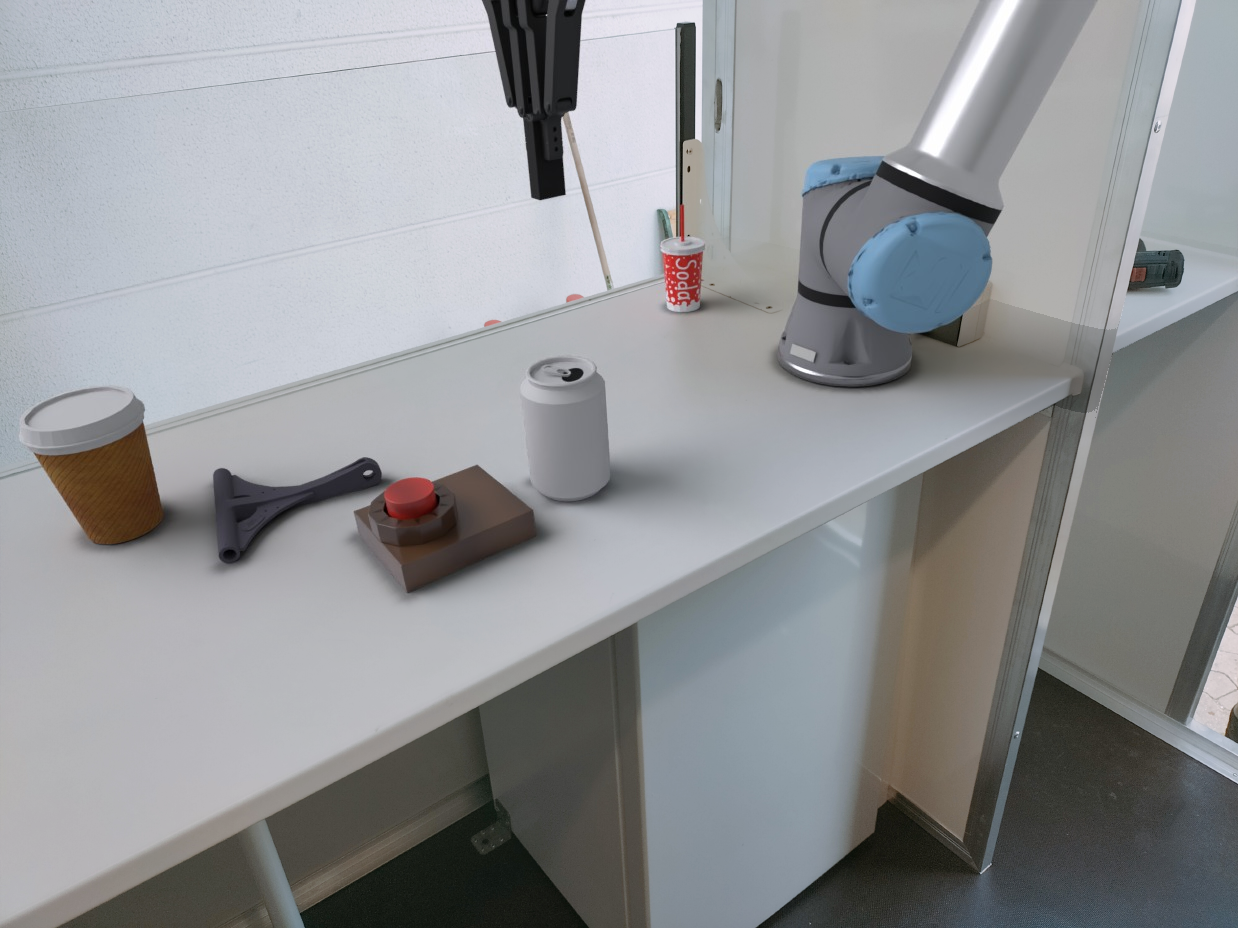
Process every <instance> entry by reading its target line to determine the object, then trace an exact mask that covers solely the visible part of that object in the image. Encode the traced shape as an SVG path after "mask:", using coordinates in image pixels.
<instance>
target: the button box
mask: <svg viewBox="0 0 1238 928" xmlns="http://www.w3.org/2000/svg"><path fill="white" fill-rule="evenodd" d="M431 482H432V483H433V485H434V490H435V495H436V500H437V507H436V508H435V509H434V510H433V511H432V512H431V513H428V514H426V515H423V516H421V517H418V518H413V519H403V520H400V519H396V518H392V517H390V515H389V514H388V510H387V506H386V501H385V497H384V493H385V490H383V491H382V492H381V493H380V494H379V495H378V496H376V497H375V498H373V500H371V502H370V504H369V505H367V506H363V507H361V508H359V509H356V510H353V515H354V520H355V523H356V528H357V531H358V535H359V537H360V539H361V541H362V542H363V543H365V545H366V546H367V548H368V549H370V551H371V552H372V553H373V554H374V555H375V557H376V558H377V559H378V560H379V561H380V563H381V564H382V565H383V567H385V569H387V571H388V572H389V573H390V574H391V576H392V577H393V578H394V579H395V580H396V581H397V583H398V584H399V585H400V586H401V588H402V589H403V590H404V591H405V592H406V593H407V594H409V593H410V592H413V591H416V590H417V589H420V588H423V587H424V586H427V585H429V584H431V583H433V582H435V581H438V580H440V579H442V578H445V577H447V576H449V575H452V574H453V573H457V572H458V571H460V570H463V569H465V568H467V567H469V566H472V565H474V564H476V563H479V562H481V561H484V560H485V559H487V558H490V557H492V556H495V555H497V554H499V553H501V552H503V551H505V550H508V549H510V548H512V547H515V546H517V545H519V544H522V543H524V542H526V541H528V540H530V539H533V538H535V537H536V536H537V529H536V522H535V513H534V509H532V508H531V507H530V506H529V505H528V504H527V503H525V502H524V501H523V500H522V499H520V498H519V497H518V496H516V495H515V494H514V493H513V492H512V491H511V490H510V489H508V488H507V487H506V486H504V485H503V484H502V483H500V481H498V480H497V479H496V478H495V477H493V476H492V475H491V474H489V472H487V471H486V470H485V469H484V468H482V467H481V466H480V465H479V464H474V465H472V466H469V467H467V468H465V469H462V470H459V471H456V472H454V473H451V474H449V475H446V476H443V477H441V478H438V479H435V480H433V481H432V480H431Z"/></svg>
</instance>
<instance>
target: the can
mask: <svg viewBox="0 0 1238 928" xmlns="http://www.w3.org/2000/svg"><path fill="white" fill-rule="evenodd" d="M597 371H598V366H597V365H596V363H595V362H594V361H592V360H590V359H589V358H586V357H583V356H579V355H566V354H565V355H553V356H549V357H545V358H541V359H538V360H537V361H535V362H533V363H531V364H530V365H529V366H528V367H527V368H526V370H525V373H524V375H525V378H524V380H522V382H521V385H520V388H519V394H520V403H521V410H522V411H521V412H522V420H523V427H524V428H523V429H524V436H525V445H526V453H527V461H528V470H529V471H528V472H529V478H530V479H529V480H530V482H531V485H532V488H534V489H535V490H536V491H537V492H538V493H540V494H542V495H544V496H545V497H546V498H549V499H551V500H554V501H558V502H577V501H578V502H579V501H583V500H585V499H588V498H591V497H593V496H594V495H596V494H598V493H599V492H600V490H602V489H603V488H604V487H605V486H606V485H607V484H608V483H609V481H610V480H611V472H612V471H611V457H610V455H611V454H610V439H609V426H608V407H607V393H606V392H607V391H606V381H605V379H604V377H603V376H602V375H601V374H600V373H599V372H597Z"/></svg>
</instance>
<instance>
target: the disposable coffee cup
mask: <svg viewBox="0 0 1238 928" xmlns="http://www.w3.org/2000/svg"><path fill="white" fill-rule="evenodd" d="M145 407H146V406H145V404H144V402H143V401H142V400H141V399H139V398H137V396H136V395H135V393H134V392H133V391H132V390H131V389H130V388H127V387H125V386H122V385H121V386H120V385H114V384H113V385H110V384H108V385H107V384H105V385H104V384H103V385H92V386H87V387H81V388H77V389H73V390H68V391H65V392H62V393H59V394H55V395H53V396H50V397H48V398H45V399H43V400H41V401H39V402H37V403H36V404H34V405H31V406H30V407H29V408H28V409H26V410H25V411H24V412H23V413H22V414H21V415H20V417H19V420H18V422H19V433H18V440H19V443H21V444H22V445H23V447H26V449H28V450H29V451H30V452H31V453H33V455H34V456H35V458H36V460H37V461H38V463H39V465H40V466H41V467H42V469H43V471H44V472H45V473H46V475H47V477H48V478H49V479H50V481H51V483H52V484H53V486H54V487H55V489H56V490H57V492H58V494H59V495H60V496H61V498H62V500H63V501H64V503H65V504H66V506H67V507H68V509H69V511H70V512H71V513H72V515H73V517H74V518H75V519H76V521H77V523H78V524H79V525H80V528H81V529H82V530H83V532H84V533H85V535H86V536H87V538H88V539H89V541H91V542H92V543H95V544H99V545H116V544H120V543H125V542H129V541H131V540H135V539H137V538H139V537H141V536H144V535H145V534H148V533H149V532H151V531H153V529H155V528H156V527H157V526H158V525H159V524H160V523H161V522H162V521H163V518H164V510H163V505H162V502H161V496H160V492H159V487H158V482H157V477H156V473H155V469H154V468H155V467H154V465H153V464H154V463H153V459H152V455H151V450H150V446H149V441H148V436H147V432H146V426H145V423H144V419H145V411H146V408H145Z"/></svg>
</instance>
